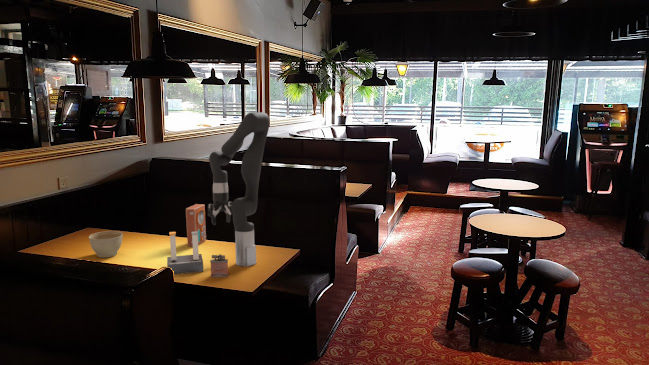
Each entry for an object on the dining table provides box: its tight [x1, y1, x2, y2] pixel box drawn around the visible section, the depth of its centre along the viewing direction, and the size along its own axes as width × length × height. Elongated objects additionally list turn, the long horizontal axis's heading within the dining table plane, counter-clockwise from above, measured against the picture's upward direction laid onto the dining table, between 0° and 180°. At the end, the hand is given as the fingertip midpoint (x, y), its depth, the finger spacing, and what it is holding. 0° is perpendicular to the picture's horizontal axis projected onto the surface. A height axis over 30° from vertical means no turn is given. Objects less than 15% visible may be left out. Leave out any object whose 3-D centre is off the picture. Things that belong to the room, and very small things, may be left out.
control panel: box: [185, 203, 207, 247], centre depth 271 cm, size 21×7×15 cm
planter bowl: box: [88, 230, 124, 258], centre depth 251 cm, size 16×16×11 cm
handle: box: [192, 231, 200, 260], centre depth 227 cm, size 3×3×13 cm
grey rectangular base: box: [166, 253, 204, 275], centre depth 230 cm, size 12×16×5 cm
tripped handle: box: [168, 231, 177, 260], centre depth 227 cm, size 3×3×13 cm
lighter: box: [209, 254, 230, 278], centre depth 221 cm, size 8×3×10 cm, turn 92°
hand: (221, 223), depth 242 cm, fingers open, 8 cm apart
